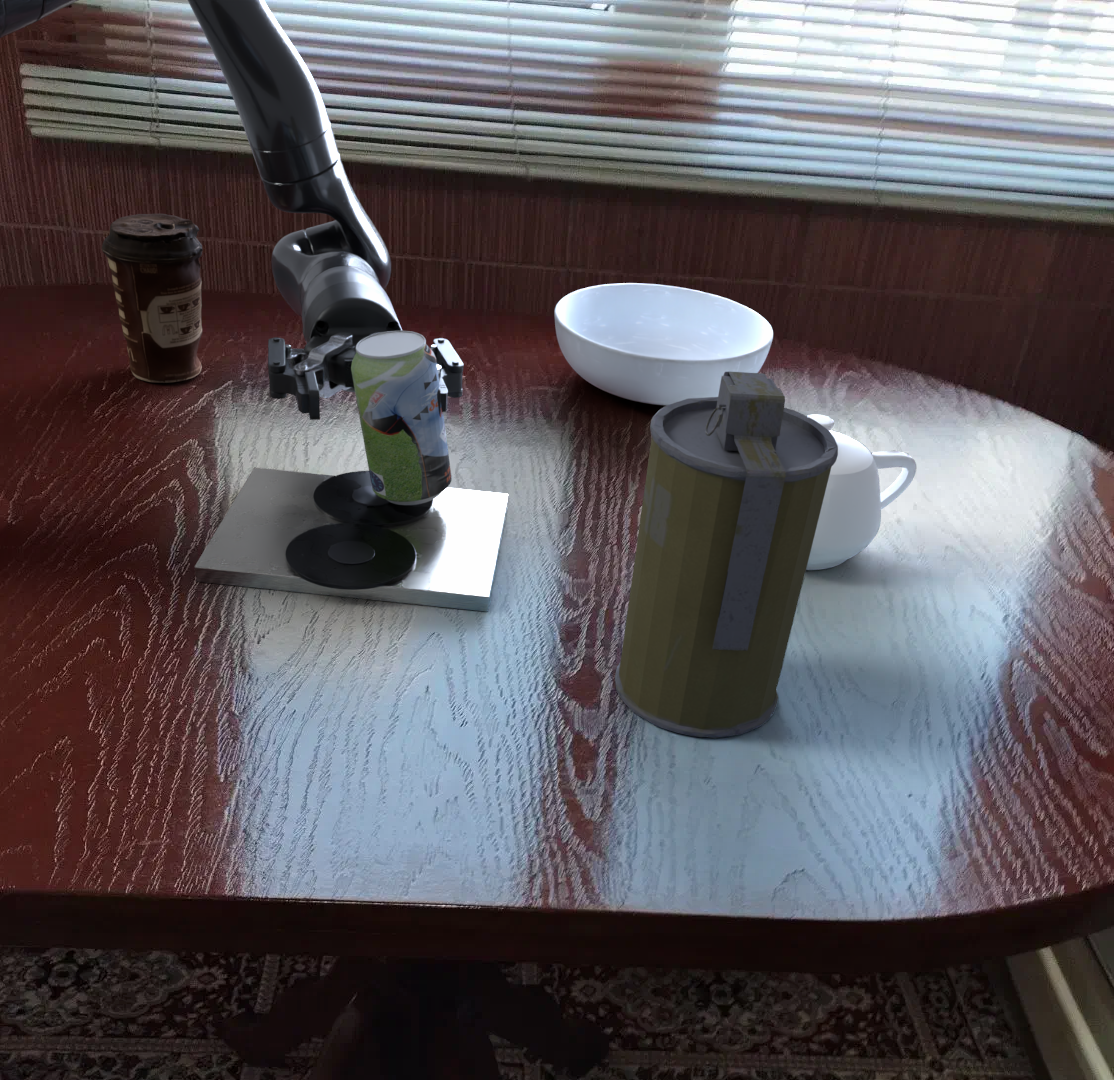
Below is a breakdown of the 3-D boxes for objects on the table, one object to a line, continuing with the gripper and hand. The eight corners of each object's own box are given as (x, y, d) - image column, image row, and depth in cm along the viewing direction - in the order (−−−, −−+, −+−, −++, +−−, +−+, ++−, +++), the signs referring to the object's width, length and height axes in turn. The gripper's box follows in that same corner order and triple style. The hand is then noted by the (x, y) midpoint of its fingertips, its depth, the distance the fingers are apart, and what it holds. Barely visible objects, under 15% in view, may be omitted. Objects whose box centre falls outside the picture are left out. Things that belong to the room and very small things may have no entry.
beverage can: (459, 511, 90) (466, 353, 83) (361, 517, 88) (360, 356, 81) (439, 474, 95) (444, 322, 88) (346, 480, 93) (343, 323, 85)
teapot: (701, 593, 87) (725, 462, 81) (639, 514, 96) (656, 391, 90) (938, 570, 93) (977, 447, 87) (858, 498, 102) (888, 382, 96)
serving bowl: (505, 372, 118) (509, 301, 114) (652, 337, 130) (661, 272, 126) (657, 449, 106) (668, 373, 102) (803, 403, 118) (819, 333, 114)
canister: (606, 642, 80) (645, 346, 68) (758, 647, 82) (823, 357, 70) (624, 741, 72) (673, 422, 60) (794, 746, 73) (876, 434, 61)
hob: (191, 589, 81) (188, 568, 80) (258, 475, 96) (256, 456, 95) (486, 619, 81) (488, 599, 80) (509, 501, 96) (510, 483, 95)
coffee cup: (235, 370, 112) (224, 223, 104) (177, 397, 106) (161, 244, 98) (160, 349, 115) (143, 204, 107) (98, 374, 109) (76, 223, 101)
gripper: (257, 278, 93) (270, 354, 81) (439, 281, 97) (478, 354, 85) (263, 373, 98) (276, 458, 86) (437, 372, 101) (473, 454, 89)
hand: (376, 406), depth 85 cm, fingers open, 8 cm apart
